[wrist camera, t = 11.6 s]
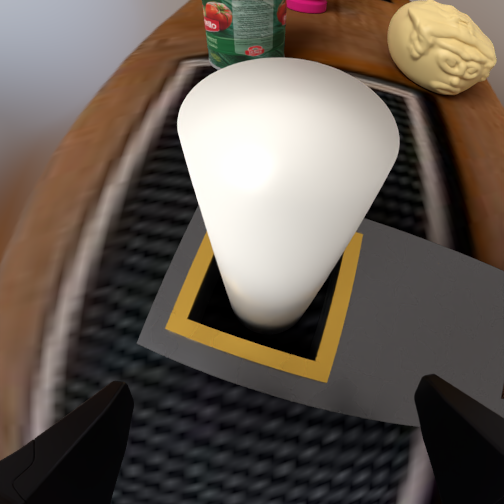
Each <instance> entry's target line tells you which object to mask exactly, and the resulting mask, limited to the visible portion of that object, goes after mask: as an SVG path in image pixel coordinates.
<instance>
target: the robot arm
mask: <svg viewBox="0 0 504 504" xmlns="http://www.w3.org/2000/svg"><path fill="white" fill-rule="evenodd" d="M414 401H415V405H416V409H417V413H418V418H419V422H420V427H421V432H422V436H423V440H424V443H425V446H426V449H427V452H428V455H429V459H430V462H431V465H432V468H433V472H434V475H435V479H436V482H437V486H438V489H439V493H440V497H441V501H442V504H504V418H503V417H501V416H500V415H498V414H497V413H495V412H494V411H492V410H490V409H489V408H487V407H486V406H484V405H483V404H481V403H479V402H478V401H476V400H475V399H473V398H472V397H470V396H469V395H467V394H465V393H464V392H462V391H461V390H459V389H458V388H456V387H455V386H453V385H451V384H450V383H448V382H447V381H445V380H444V379H442V378H441V377H439V376H437V375H436V374H429V375H424V376H423V377H422V378H421V380H420V382H419V385H418V387H417V389H416V391H415V394H414ZM133 408H134V401H133V398H132V395H131V393H130V390H129V387H128V385H127V384H126V383H125V382H120V381H113V382H111V383H110V384H108V385H107V386H106V387H104V388H103V389H102V390H100V391H99V392H98V393H96V394H95V395H94V396H92V397H91V398H90V399H88V400H87V401H86V402H84V403H83V404H82V405H80V406H79V407H77V408H76V409H75V410H73V411H72V412H71V413H69V414H68V415H67V416H65V417H64V418H62V419H61V420H60V421H58V422H57V423H56V424H54V425H53V426H51V427H50V428H49V429H47V430H46V431H45V432H43V433H42V434H40V435H39V436H38V437H36V438H35V440H32V441H30V442H29V443H28V444H26V445H25V446H23V447H22V448H20V449H19V450H17V451H16V452H14V453H13V454H11V455H9V456H7V457H6V458H4V459H2V460H0V504H110V502H111V499H112V495H113V491H114V488H115V484H116V481H117V477H118V474H119V470H120V467H121V463H122V460H123V457H124V453H125V450H126V446H127V441H128V435H129V429H130V424H131V419H132V413H133Z"/></svg>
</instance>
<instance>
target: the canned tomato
mask: <svg viewBox="0 0 504 504" xmlns="http://www.w3.org/2000/svg"><path fill="white" fill-rule="evenodd" d="M202 3H203V14H204V21H205V29H206V36H207V44H208V46H207V47H208V52H209V62H210V64H211V65H212V66H213V67H214V68H216V69H217V70H220V69H223V68H225V67H227V66H230V65H233V64H236V63H239V62H244V61H248V60H254V59H260V58H284V46H285V26H286V6H287V2H286V0H202Z"/></svg>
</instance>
